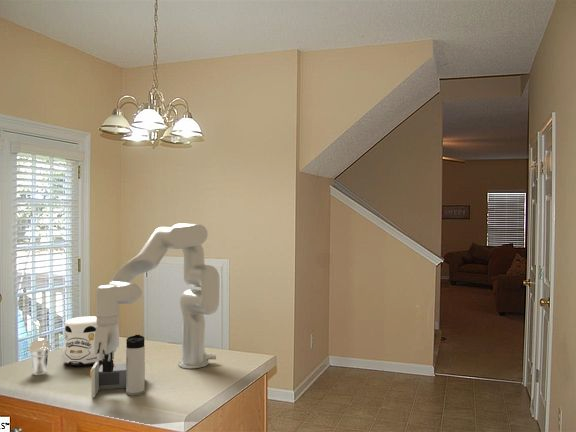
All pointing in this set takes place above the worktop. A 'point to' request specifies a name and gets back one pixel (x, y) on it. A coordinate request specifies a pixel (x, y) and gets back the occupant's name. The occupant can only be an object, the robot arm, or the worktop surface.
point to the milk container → (80, 341)
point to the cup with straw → (39, 353)
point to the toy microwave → (113, 377)
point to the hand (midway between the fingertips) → (107, 371)
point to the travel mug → (135, 365)
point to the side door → (95, 378)
